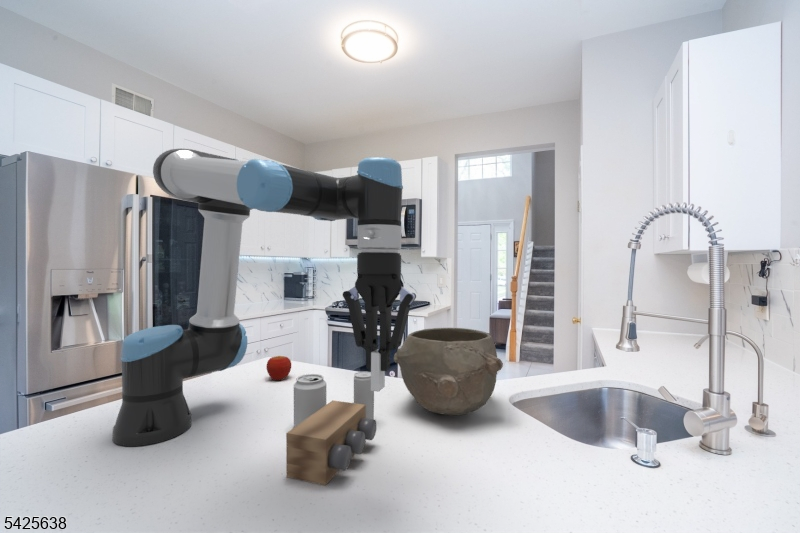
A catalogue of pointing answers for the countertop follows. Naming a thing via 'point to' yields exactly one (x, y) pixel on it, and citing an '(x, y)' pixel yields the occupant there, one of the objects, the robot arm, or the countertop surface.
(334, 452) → the knob
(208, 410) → the countertop surface
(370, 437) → the knob
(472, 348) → the bowl
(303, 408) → the can
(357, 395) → the beverage can
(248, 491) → the countertop surface
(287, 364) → the apple
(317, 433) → the block
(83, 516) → the countertop surface
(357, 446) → the knob
